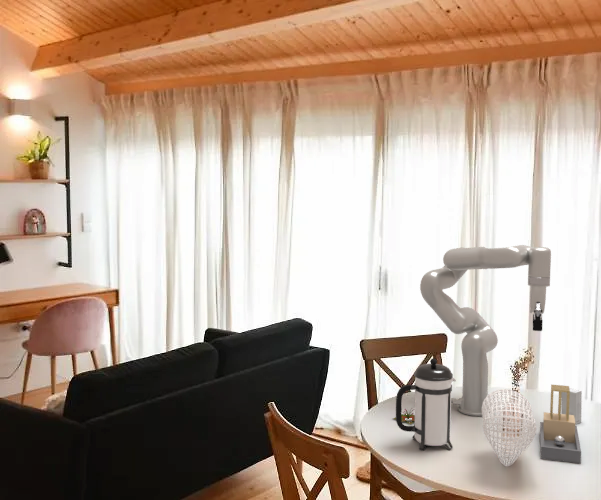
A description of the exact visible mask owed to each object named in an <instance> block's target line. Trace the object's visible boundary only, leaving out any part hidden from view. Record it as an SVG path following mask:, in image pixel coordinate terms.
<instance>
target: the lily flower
mask: <svg viewBox="0 0 601 500" xmlns="http://www.w3.org/2000/svg"><path fill="white" fill-rule="evenodd" d="M414 411H415V408H414V409H413V408H412V407H411V409H410V410H409V411H408V409H406V408H404V410H403V411H402V413H401V420H402V423H403V422H405V423H406V424H409V426H412V425H413V424H414V423H415V414H414ZM406 414H407V415H406ZM405 418H407V419H406V420H405ZM409 418H412V420H411V419H409ZM408 419H409V420H408ZM393 420H396V417H394V418H393ZM407 421H408V422H407ZM411 421H412V422H411ZM409 422H410V423H409Z"/></svg>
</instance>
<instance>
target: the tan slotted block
mask: <svg viewBox="0 0 601 500" xmlns="http://www.w3.org/2000/svg"><path fill="white" fill-rule="evenodd" d="M550 385H551V386H550V405H549V406H550V408H549V411H550V412H549V413H550V417H551V419H552V417H553V413H554V412H553V411H554V392H558V402H557V403H558V407H557V408H558V409H557V411H558V412H557V414H558V415H559V420H561V394H562V392H567V403H566V419H567V421H569V400H570V389H569V388H570V386H569V385H560V384H550Z"/></svg>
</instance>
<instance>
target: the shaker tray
mask: <svg viewBox="0 0 601 500" xmlns="http://www.w3.org/2000/svg"><path fill="white" fill-rule="evenodd" d="M542 419H543V420H542V421H541V422H540V423H539V424H540V425H539V426H540V427H539V439H540V440H539V442H540V443H539V445H540V446H539V447H540V448H539V450H540V451H539V452H540V459H542V460H548V461H549V460H550V461H557V462H564V463H572V464H579V465H580V464H581V463H582V462H581V461H582V459H581V458H582V449H581V444H580V442H581V441H580V438H579V432H578V428H577V427H578V426H577V425H576V424H575V418H574V415H569V421H567V419H566V414H561V420H559V415H558V413H556V412H553V417H552V419H551V417H550V412H545V411H543V418H542ZM557 435H561V436H563V437H564V439H565V443H564V444H563V445H562V446H559V445H557V444H556V443H555V442H554V438H555V437H556V436H557Z"/></svg>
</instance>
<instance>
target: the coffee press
mask: <svg viewBox="0 0 601 500" xmlns="http://www.w3.org/2000/svg"><path fill="white" fill-rule="evenodd" d="M429 362H430V363H425V364H420V365H419V366H418V367H416V370H414V372H413V376H414V378H415V379H414V384H405V385H403V386H402V387H400V388H399V389H398V391H397V392H396V399H395V418H396V419H395V422H396V424H397V427H398V428H399V429H400V430H402V431H404V432H411V433H412V432H413V433H414V434H413V435H412V437H411V438H412V440H413V441H417V442H418V443H419V446H418V449H419V451H422V452H424V451H425V449H426V447H427V446H431V447H440V446H444V447H445V448H446V449H447V450H448V451H450V450H451V451H452V450H453V444H452V443H451V426H452V425H451V419H452V417H451V415H452V413H451V412H452V403H451V398H452V392H453V383H452V382H457V379H456V378H455V377H454V375H453V373H452V371H451V369H450V368H449V367H447V365H443V364H438V361H437V359H436V358H434V357H433V358H431V359H430V361H429ZM409 391H414V409H415V410H414V415H415V421H414V423H413V425H405V424H404V423H403V422H402V420H401V414H402V413H403V411H402V403H403V400H402V399H403V396H404V394H405V393H406V392H409Z"/></svg>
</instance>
